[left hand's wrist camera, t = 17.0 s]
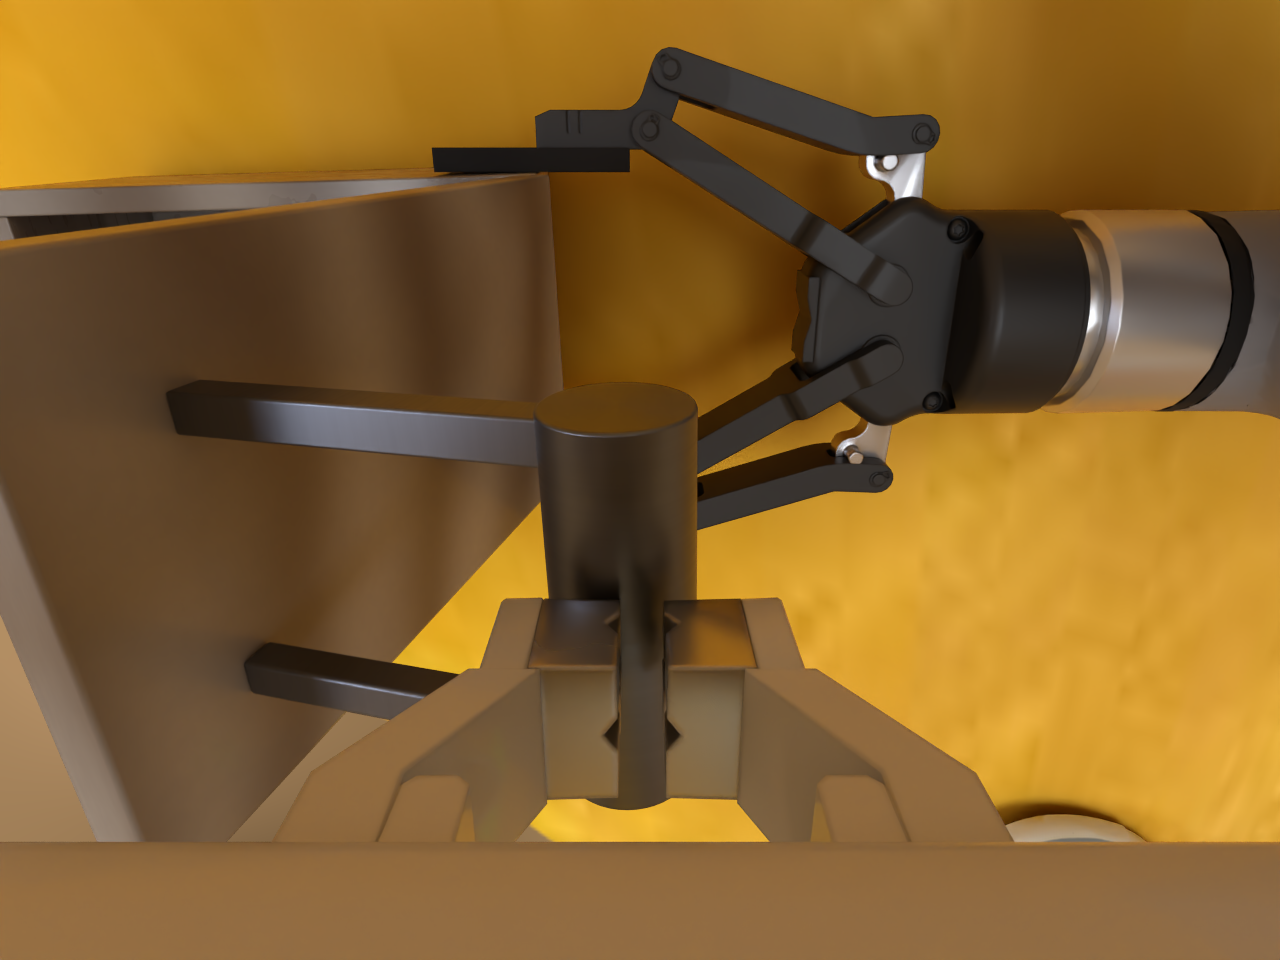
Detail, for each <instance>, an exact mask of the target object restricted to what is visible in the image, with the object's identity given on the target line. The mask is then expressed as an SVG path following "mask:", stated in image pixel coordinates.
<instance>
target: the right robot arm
mask: <svg viewBox="0 0 1280 960" xmlns="http://www.w3.org/2000/svg"><path fill="white" fill-rule="evenodd" d="M678 100H681V101H684V102H687V103H690V104H693V105H696V106H699V107H702V108H704V109H707V110H710V111H713V112H716V113H719V114H722V115H725V116H728V117H731V118H734V119H737V120H739V121H742V122H745V123H748V124H751V125H754V126H757V127H760V128H763V129H766V130H769V131H772V132H775V133H777V134H780V135H783V136H786V137H789V138H792V139H795V140H798V141H801V142H804V143H807V144H810V145H813V146H815V147H818V148H821V149H824V150H827V151H831V152H834V153H838V154H844V155H851V156H859V168H860V171H861V173H862V174H863V175H864V176H865V177H867V178H869V179H873V180H877V181H879V182H880V183H881V184H882V185H883V186H884V188H885V190H886V199H885V200H883V201H882V202H880V203H879V204H877V205H876V206H875V207H873V208H872V209H870V210H869V211H868V212H866V213H865V214H863V215H862V216H861V217H859V218H858V219H856V220H855V221H854V222H852V223H851V224H849V225H848V226H847V227H845V228H844V229H842V230H841V231H840V230H839V229H837V228H836V227H834V226H833V225H831V224H830V223H828V222H826V221H825V220H823V219H822V218H820V217H818V216H816V215H815V214H813V213H811V212H810V211H808V210H806V209H805V208H803V207H802V206H800V205H799V204H797V203H796V202H794V201H793V200H791V199H790V198H788V197H787V196H785V195H784V194H782V193H781V192H779V191H778V190H776V189H775V188H773V187H772V186H770V185H769V184H767V183H766V182H764V181H763V180H761V179H759V178H758V177H756V176H755V175H753V174H752V173H750V172H749V171H747V170H746V169H744V168H743V167H741V166H740V165H738V164H737V163H735V162H734V161H732V160H731V159H729V158H728V157H726V156H725V155H723V154H722V153H720V152H719V151H717V150H716V149H714V148H712V147H711V146H709V145H708V144H706V143H705V142H703V141H702V140H700V139H699V138H697V137H696V136H694V135H693V134H691V133H690V132H688V131H687V130H685V129H684V128H682V127H681V126H679V125H678V124H676V123H675V122H673V121H672V118H673V115H674V112H675V109H676V106H677V103H678ZM535 124H536V145H537V148H432V154H433V164H434V172H630V150H644V151H645V152H647V153H648V154H650V155H651V156H653V157H654V158H656V159H658V160H659V161H661V162H662V163H664V164H665V165H667V166H668V167H670V168H672V169H673V170H675V171H676V172H678V173H679V174H681V175H682V176H684V177H686V178H687V179H689V180H690V181H692V182H693V183H695V184H696V185H698V186H700V187H701V188H703V189H704V190H706V191H707V192H709V193H710V194H712V195H714V196H715V197H717V198H718V199H720V200H721V201H723V202H724V203H726V204H727V205H729V206H731V207H732V208H734V209H735V210H737V211H738V212H740V213H741V214H743V215H745V216H746V217H748V218H749V219H751V220H752V221H754V222H755V223H757V224H759V225H760V226H762V227H763V228H765V229H766V230H768V231H769V232H771V233H773V234H774V235H776V236H777V237H779V238H780V239H782V240H783V241H784V242H786V243H788V244H789V245H791V246H792V247H794V248H795V249H797V250H798V251H800V252H802V253H803V254H805V255H806V256H808V258H807V259H806V261H805V263H804V265H803V267H802V270H797V282H796V293H797V299H798V304H799V314H798V317H797V320H796V323H795V326H794V329H793V336H792V349H791V350H792V351H793V352H794V353H795V356H796V358H795V359H793V360H792V361H790V362H788V363H786V364H785V365H783V366H781V367H779V368H778V369H776V370H775V371H774V372H773V373H772V375H771V376H770V377H769V378H768V379H766V380H764V381H762V382H761V383H759V384H757V385H755V386H754V387H752V388H750V389H748V390H747V391H745V392H743V393H741V394H740V395H738V396H736V397H734V398H733V399H731V400H729V401H727V402H726V403H724V404H722V405H720V406H718V407H717V408H715V409H713V410H711V411H710V412H708V413H706V414H704V415H703V416H701V417H699V418H698V430H697V474H699V473H701V472H702V471H704V470H706V469H708V468H710V467H711V466H713V465H715V464H717V463H719V462H720V461H722V460H724V459H726V458H728V457H729V456H731V455H733V454H735V453H737V452H739V451H740V450H742V449H744V448H746V447H748V446H749V445H751V444H753V443H755V442H757V441H758V440H760V439H762V438H764V437H766V436H767V435H769V434H771V433H773V432H775V431H776V430H778V429H780V428H782V427H784V426H786V425H787V424H789V423H791V422H793V421H796V420H805V419H808V418H810V417H812V416H814V415H816V414H818V413H819V412H821V411H823V410H825V409H827V408H828V407H830V406H832V405H834V404H836V403H838V402H839V401H840V402H841V403H843V404H844V405H846V406H847V407H848V408H850V409H851V410H852V411H854V412H855V413H856V414H858V415H859V416H860V417H861V419H860V421H859V423H858V424H857V425H856V426H855V427H854V428H852V429H850V430H846V431H842V432H839V433H837V434H836V435H835V436H834V437H833V439H832V441H831V443H819V444H812V445H808V446H804V447H800V448H797V449H793V450H790V451H786V452H783V453H780V454H776V455H773V456H769V457H766V458H762V459H759V460H755V461H752V462H749V463H745V464H742V465H738V466H735V467H731V468H728V469H725V470H721V471H718V472H714V473H711V474H707V475H704V476H701V477H697V530H700V529H703V528H707V527H710V526H714V525H717V524H721V523H724V522H728V521H731V520H735V519H738V518H742V517H745V516H749V515H752V514H756V513H759V512H763V511H766V510H770V509H773V508H777V507H780V506H784V505H788V504H791V503H795V502H798V501H802V500H805V499H809V498H812V497H816V496H819V495H823V494H826V493H830V492H833V491H843V492H870V493H877V492H882V491H884V490H886V489H887V488H888V487H889V486H890V485H891V483H892V481H893V473H892V471H891V469H890V468H889V467H888V466H887V465H886V463H885V460H886V455H887V450H888V444H889V439H890V433H891V428H892V425H894V424H897V423H899V422H901V421H902V420H904V419H906V418H909V417H911V416H914V415H918V414H922V413H938V414H966V413H1028V412H1033V411H1035V410H1037V409H1039V408H1041V409H1042V410H1044V411H1046V412H1052V413H1084V412H1120V411H1245V412H1254V413H1261V414H1265V415H1270V416H1273V417H1276V418H1278V419H1280V210H1255V211H1219V212H1204V211H1197V210H1072V211H1067V212H1065V213H1063V214H1061V215H1059V214H1057V213H1055V212H1053V211H1049V210H942V209H940V208H937V207H935V206H934V205H932V204H931V203H929V202H928V201H926V200H924V199H922V193H923V181H924V168H925V156H926V152H928V151H929V150H931V149H932V148H933V147H934V146H935V144H936V143H937V141H938V139H939V135H940V127H939V124H938V122H937V120H936V119H935V118H933V117H932V116H931V115H925V114H919V115H902V116H885V117H871V116H868V115H866V114H863V113H860V112H857V111H854V110H851V109H849V108H846V107H843V106H840V105H837V104H834V103H831V102H829V101H826V100H823V99H820V98H817V97H814V96H812V95H809V94H806V93H803V92H800V91H797V90H795V89H792V88H789V87H786V86H783V85H780V84H777V83H775V82H772V81H769V80H766V79H763V78H760V77H758V76H755V75H752V74H749V73H746V72H743V71H740V70H738V69H735V68H732V67H729V66H726V65H723V64H721V63H718V62H715V61H712V60H709V59H706V58H703V57H701V56H698V55H695V54H692V53H689V52H686V51H684V50H681V49H678V48H673V47H667V48H665V49H662V50H661V51H660V52H658V53H657V54H656V56H655V58H654V60H653V62H652V65H651V67H650V70H649V74H648V77H647V80H646V83H645V86H644V89H643V92H642V95H641V97H640V99H639V100H638V101H637V102H636V104H634V105H633V106H632V107H630V108H627V109H624V110H549V111H546V112H544V113H542V114H540V115H538V116H535Z"/></svg>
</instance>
